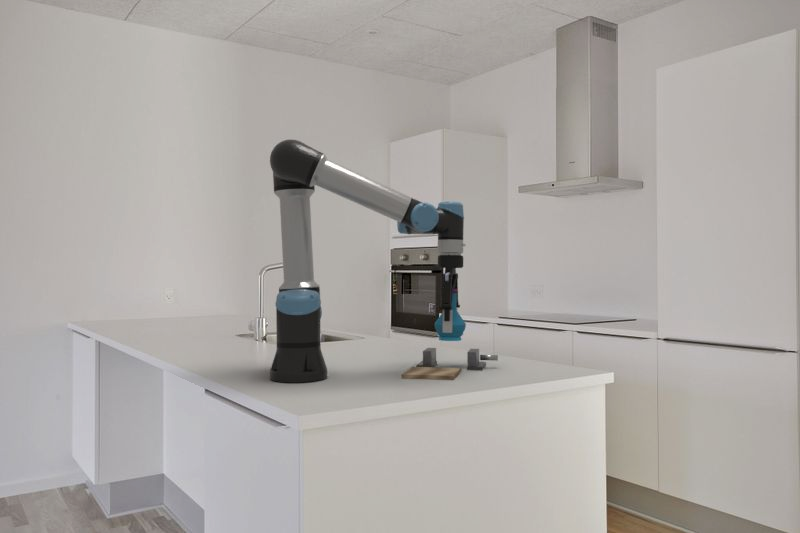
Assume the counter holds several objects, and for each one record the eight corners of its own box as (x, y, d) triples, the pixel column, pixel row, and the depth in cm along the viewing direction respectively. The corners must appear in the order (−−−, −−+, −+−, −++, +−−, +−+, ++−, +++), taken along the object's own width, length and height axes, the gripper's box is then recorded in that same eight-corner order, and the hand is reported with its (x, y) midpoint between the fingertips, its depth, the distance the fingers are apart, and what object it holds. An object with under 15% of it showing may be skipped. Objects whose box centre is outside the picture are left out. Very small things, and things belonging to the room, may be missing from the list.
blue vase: (444, 337, 203) (445, 288, 203) (471, 339, 198) (471, 288, 198) (428, 340, 196) (428, 288, 196) (455, 342, 190) (455, 289, 190)
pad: (401, 378, 178) (401, 374, 178) (412, 370, 191) (412, 366, 191) (453, 379, 174) (453, 376, 174) (461, 371, 188) (461, 367, 188)
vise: (416, 368, 194) (415, 351, 194) (422, 363, 204) (422, 347, 204) (496, 370, 189) (496, 353, 189) (499, 365, 199) (499, 348, 199)
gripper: (457, 253, 185) (457, 335, 185) (468, 255, 207) (467, 328, 207) (431, 253, 187) (430, 334, 187) (444, 255, 208) (443, 327, 208)
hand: (450, 331), depth 197 cm, fingers closed on blue vase, 9 cm apart
